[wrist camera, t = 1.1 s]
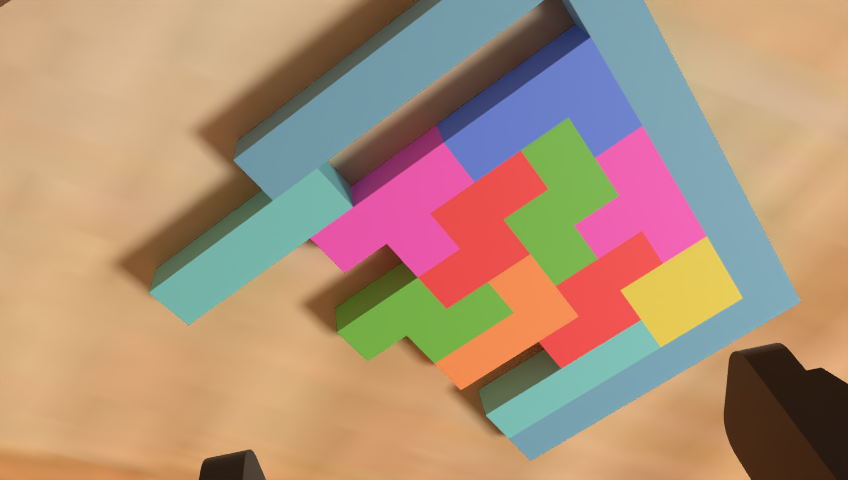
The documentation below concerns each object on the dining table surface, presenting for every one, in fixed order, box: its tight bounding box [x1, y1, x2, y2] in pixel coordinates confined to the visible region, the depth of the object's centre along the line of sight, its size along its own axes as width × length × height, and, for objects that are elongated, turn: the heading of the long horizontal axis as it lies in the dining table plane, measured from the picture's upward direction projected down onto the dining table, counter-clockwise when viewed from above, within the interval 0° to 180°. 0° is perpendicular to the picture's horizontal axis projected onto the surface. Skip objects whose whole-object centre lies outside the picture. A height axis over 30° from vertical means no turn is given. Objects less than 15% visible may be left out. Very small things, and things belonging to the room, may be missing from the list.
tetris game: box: [149, 0, 801, 461], centre depth 41 cm, size 28×3×28 cm
